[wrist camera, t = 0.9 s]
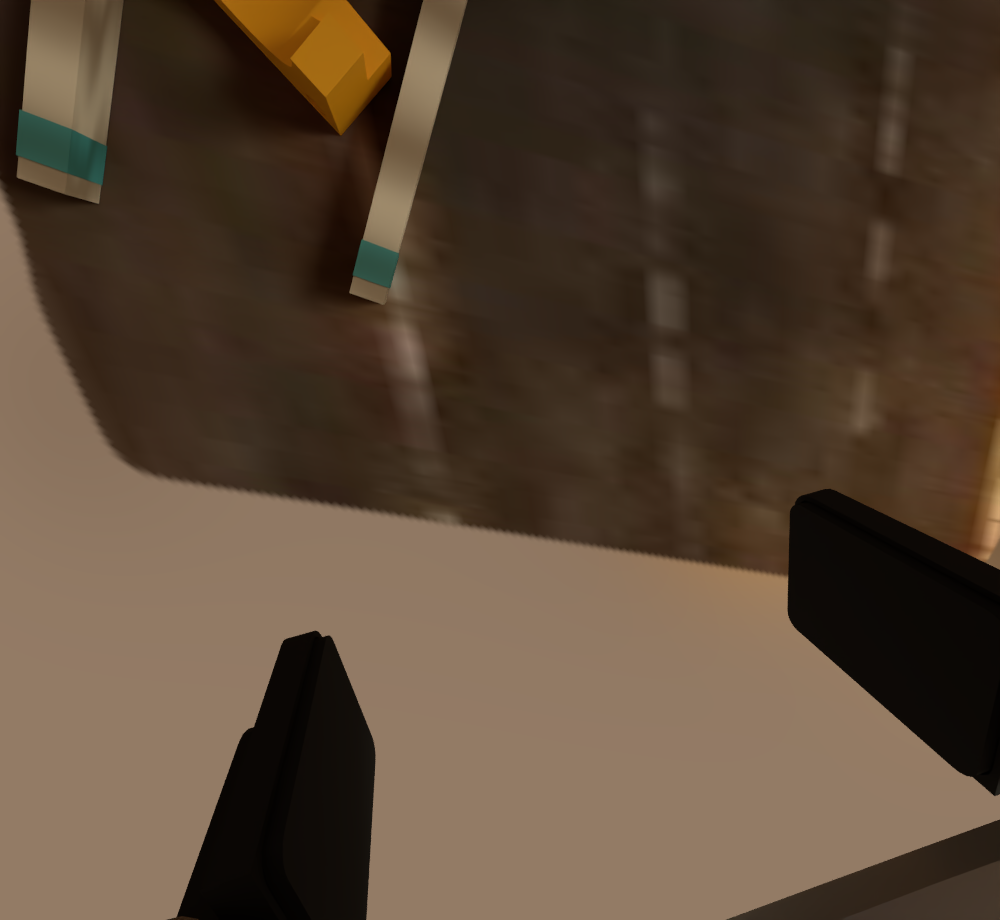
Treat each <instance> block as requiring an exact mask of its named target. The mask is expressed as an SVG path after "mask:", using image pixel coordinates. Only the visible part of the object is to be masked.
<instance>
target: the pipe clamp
mask: <svg viewBox="0 0 1000 920" xmlns="http://www.w3.org/2000/svg"><path fill="white" fill-rule="evenodd" d="M214 1H215V2H216V3H217V4H218V5H219V6H220V8H221V9H222V10H223V11H224V12H225V13H226V14H227V15H228V16H229V17H230V18H231V19H232V20H233V21H234V23H235V24H236V25H237V26H238V27H239V28H240V29H241V30H242V31H243V32H244V33H245V34H246V35H247V36H248V37H249V39H250V40H251V41H252V42H253V43H254V44H255V45H256V46H257V47H258V48H259V49H260V50H261V51H262V52H263V53H264V55H265V56H266V57H267V58H268V59H269V60H270V61H271V62H272V63H273V64H274V65H275V66H276V67H277V68H278V70H279V71H280V72H281V73H282V74H283V75H284V76H285V77H286V78H287V79H288V80H289V81H290V82H291V83H292V84H293V86H294V87H295V88H296V89H297V90H298V91H299V92H300V93H301V94H302V95H303V96H304V97H305V98H306V99H307V101H308V102H309V103H310V104H311V105H312V106H313V107H314V108H315V109H316V110H317V111H318V112H319V113H320V114H321V115H322V117H323V118H324V119H325V120H326V121H327V122H328V123H329V124H330V125H331V126H332V127H333V128H334V129H335V130H336V131H337V133H338V134H339V135H340V136H341V135H342V134H343V133H344V132H345V131H346V130H347V128H348V127H349V126H350V125H351V124H352V123H353V121H354V120H355V119H356V118H357V117H358V116H359V114H360V113H361V112H362V111H363V110H364V108H365V107H366V106H367V105H368V104H369V103H370V101H371V100H372V99H373V98H374V97H375V96H376V94H377V93H378V92H379V91H380V90H381V89H382V87H383V86H384V85H385V84H386V83H387V82H388V80H389V79H390V78H391V77H392V74H391V53H390V52H389V51H388V49H387V48H386V47H385V46H384V45H383V43H382V42H381V41H380V40H379V39H378V37H377V36H376V35H375V34H374V33H373V31H372V30H371V29H370V28H369V27H368V25H367V24H366V23H365V22H364V21H363V19H362V18H361V17H360V16H359V15H358V13H357V12H356V11H355V10H354V9H353V7H352V6H351V5H350V4H349V3H348V2H347V0H214Z"/></svg>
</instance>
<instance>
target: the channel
mask: <svg viewBox="0 0 1000 920" xmlns="http://www.w3.org/2000/svg"><path fill="white" fill-rule="evenodd" d="M123 1H124V0H31V8H30V20H29V32H28V45H27V57H26V70H25V82H24V94H23V107H22V110H20V109H19V121H18V134H17V146H16V155H18V156H19V157H18V169H17V178H19V179H22V180H25V181H28V182H31V183H34V184H37V185H40V186H42V187H45V188H48V189H51V190H54V191H57V192H60V193H63V194H66V195H69V196H73V197H76V198H80V199H83V200H87V201H90V202H94V203H97V204H99V199H100V191H101V185H102V184H103V175H104V167H105V159H106V151H107V146H106V142H107V133H108V125H109V117H110V109H111V100H112V92H113V84H114V76H115V67H116V59H117V51H118V43H119V34H120V26H121V18H122V10H123ZM467 1H468V0H423V3H422V7H421V11H420V15H419V19H418V23H417V27H416V31H415V35H414V39H413V43H412V47H411V51H410V55H409V59H408V63H407V67H406V71H405V75H404V79H403V83H402V86H401V90H400V94H399V98H398V102H397V106H396V110H395V114H394V118H393V122H392V126H391V130H390V134H389V138H388V142H387V146H386V150H385V154H384V158H383V162H382V166H381V170H380V174H379V177H378V181H377V185H376V189H375V193H374V197H373V201H372V205H371V209H370V213H369V217H368V221H367V225H366V229H365V233H364V237H363V239H362V240H361V244H360V248H359V252H358V256H357V260H356V264H355V268H354V272H353V275H354V276H353V280H352V284H351V288H350V292H349V293H351V294H354V295H357V296H359V297H362V298H365V299H368V300H371V301H374V302H377V303H380V304H383V305H384V304H385V302H386V298H387V295H388V291H389V288H390V287H391V283H392V280H393V276H394V272H395V269H396V265H397V261H398V258H399V251H400V247H401V243H402V240H403V236H404V232H405V229H406V225H407V221H408V218H409V214H410V210H411V207H412V203H413V199H414V196H415V192H416V188H417V185H418V181H419V177H420V174H421V170H422V166H423V163H424V159H425V155H426V151H427V148H428V144H429V140H430V137H431V133H432V129H433V126H434V122H435V118H436V115H437V111H438V107H439V104H440V100H441V96H442V93H443V89H444V85H445V82H446V78H447V74H448V71H449V67H450V63H451V60H452V56H453V52H454V49H455V45H456V41H457V38H458V34H459V30H460V27H461V23H462V19H463V16H464V12H465V8H466V5H467Z"/></svg>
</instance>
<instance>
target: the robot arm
mask: <svg viewBox="0 0 1000 920" xmlns="http://www.w3.org/2000/svg"><path fill="white" fill-rule="evenodd" d="M788 616H789V618H790V621H791V623H792V624H793V626H794V627H795V628H796V629H797V630H798V631H799V632H800V633H801V634H802V635H803V636H805V637H806V638H807V639H808V640H809V641H810V642H811V643H813V644H814V645H815V646H816V647H817V648H818V649H819V650H820V651H822V652H823V653H824V654H825V655H826V656H827V657H829V658H830V659H831V660H832V661H833V662H834V663H835V664H836V665H837V666H839V667H840V668H841V669H842V670H843V671H844V672H845V673H847V674H848V675H849V676H850V677H851V678H852V679H853V680H854V681H856V682H857V683H858V684H859V685H860V686H861V687H862V688H864V689H865V690H866V691H867V692H868V693H869V694H870V695H872V696H873V697H874V698H875V699H876V700H877V701H878V702H879V703H881V704H882V705H883V706H884V707H885V708H886V709H887V710H889V711H890V712H891V713H892V714H893V715H894V716H895V717H896V718H898V719H899V720H900V721H901V722H902V723H903V724H904V725H906V726H907V727H908V728H909V729H910V730H911V731H912V732H913V733H915V734H916V735H917V736H918V737H919V738H920V739H921V740H923V741H924V742H925V743H926V744H927V745H928V746H930V747H931V748H932V749H933V750H934V751H935V752H936V753H937V754H938V755H940V756H941V757H942V758H943V759H944V760H945V761H946V762H948V763H949V764H950V765H951V766H952V767H953V768H955V769H956V770H957V771H959V772H960V773H962V774H964V775H966V776H970V777H973V778H974V779H976V780H977V781H978V782H979V783H980V784H982V785H983V786H984V787H985V788H986V789H987V790H988V791H989V792H991V793H992V794H993V795H994V796H996V795H999V794H1000V570H999V569H997V568H995V567H993V566H991V565H989V564H987V563H985V562H982V561H980V560H978V559H976V558H974V557H972V556H970V555H968V554H966V553H964V552H962V551H960V550H957V549H955V548H953V547H951V546H949V545H947V544H945V543H943V542H941V541H939V540H937V539H935V538H933V537H930V536H928V535H926V534H924V533H922V532H920V531H918V530H916V529H914V528H912V527H910V526H908V525H906V524H903V523H901V522H899V521H897V520H895V519H893V518H891V517H889V516H887V515H885V514H883V513H881V512H879V511H876V510H874V509H872V508H870V507H868V506H866V505H864V504H862V503H860V502H858V501H856V500H854V499H852V498H849V497H847V496H845V495H843V494H841V493H839V492H837V491H835V490H832V489H824V490H820V491H817V492H813V493H810V494H806V495H802V496H800V497H799V498H798V499H797V500H796V502H795V505H794V506H793V507H792V508H791V511H790V534H789V573H788ZM374 776H375V747H374V742H373V738H372V735H371V733H370V730H369V728H368V725H367V723H366V720H365V718H364V716H363V713H362V710H361V708H360V706H359V703H358V701H357V698H356V696H355V693H354V691H353V688H352V686H351V683H350V681H349V678H348V676H347V673H346V671H345V668H344V666H343V664H342V661H341V658H340V656H339V654H338V651H337V649H336V646H335V644H334V641H333V639H332V638H331V637H330V636H325V637H322V636H321V634H320V633H319V632H318V631H313V632H309V633H306V634H302V635H299V636H295V637H291V638H288V639H285V640H284V641H283V643H282V645H281V648H280V651H279V654H278V657H277V660H276V663H275V666H274V669H273V672H272V675H271V678H270V681H269V684H268V687H267V690H266V693H265V696H264V699H263V702H262V705H261V708H260V711H259V714H258V717H257V720H256V723H255V726H254V727H253V728H250V729H248V730H247V731H246V732H245V733H244V734H243V735H242V737H241V739H240V741H239V744H238V746H237V749H236V752H235V755H234V758H233V760H232V763H231V766H230V769H229V772H228V774H227V777H226V780H225V783H224V786H223V788H222V791H221V794H220V797H219V800H218V803H217V805H216V808H215V811H214V814H213V816H212V819H211V822H210V825H209V828H208V830H207V834H206V836H205V839H204V842H203V845H202V847H201V850H200V853H199V856H198V859H197V862H196V864H195V867H194V870H193V873H192V875H191V878H190V881H189V884H188V887H187V889H186V892H185V895H184V898H183V901H182V903H181V906H180V909H179V912H178V915H177V917H176V918H172V919H168V920H366V914H367V897H368V896H367V895H368V879H369V862H370V845H371V828H372V810H373V809H372V808H373V793H374ZM727 920H1000V820H997V821H994V822H992V823H989V824H986V825H983V826H981V827H978V828H975V829H972V830H970V831H967V832H964V833H961V834H959V835H956V836H953V837H950V838H948V839H945V840H942V841H939V842H936V843H934V844H931V845H928V846H925V847H922V848H920V849H917V850H914V851H912V852H909V853H906V854H904V855H901V856H898V857H895V858H893V859H890V860H887V861H884V862H882V863H879V864H877V865H873V866H871V867H868V868H865V869H863V870H860V871H857V872H855V873H852V874H849V875H846V876H844V877H841V878H838V879H835V880H833V881H830V882H827V883H824V884H822V885H819V886H816V887H814V888H811V889H808V890H805V891H803V892H800V893H797V894H795V895H792V896H789V897H786V898H784V899H781V900H778V901H776V902H773V903H770V904H768V905H765V906H762V907H759V908H757V909H754V910H751V911H749V912H746V913H743V914H740V915H738V916H736V917H732V918H730V919H727Z"/></svg>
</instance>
